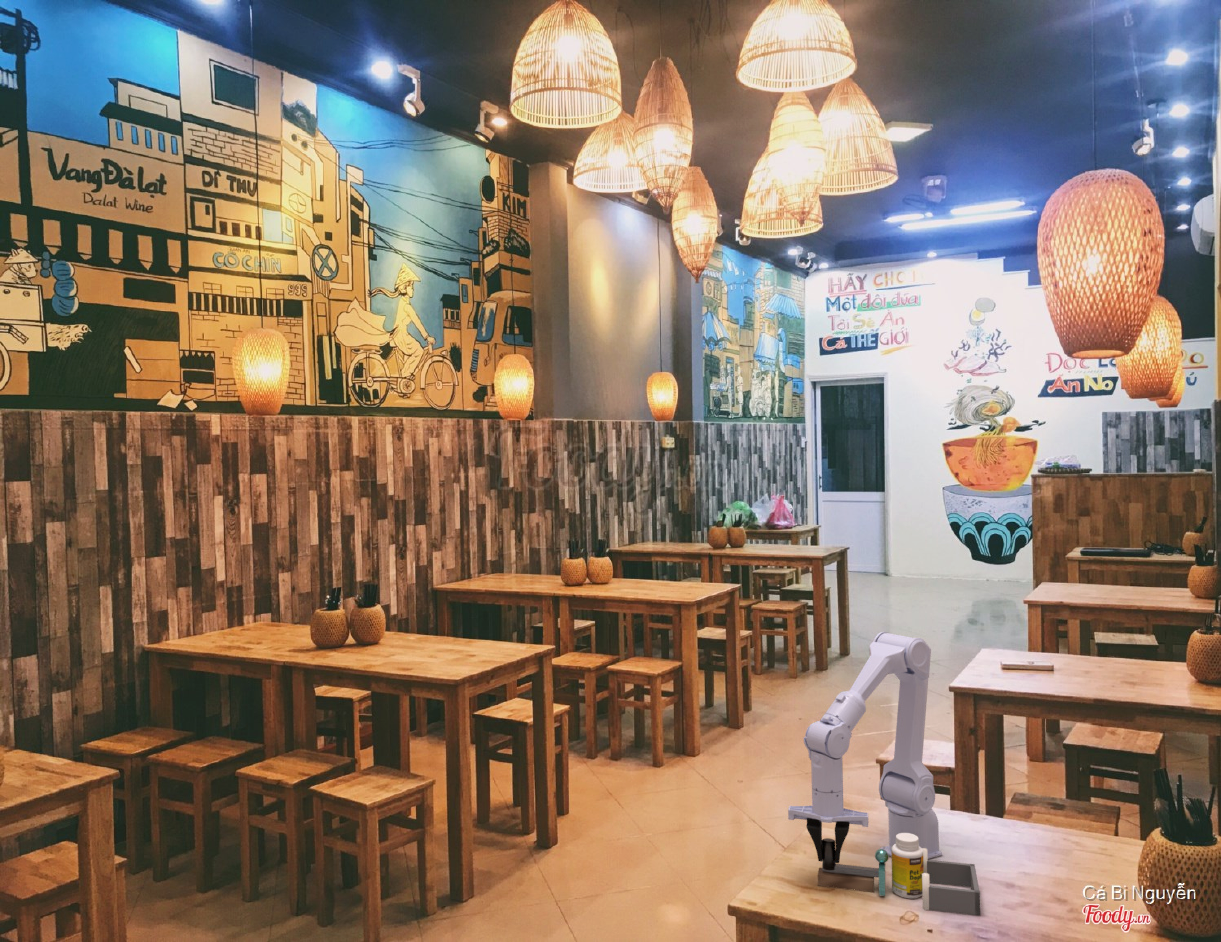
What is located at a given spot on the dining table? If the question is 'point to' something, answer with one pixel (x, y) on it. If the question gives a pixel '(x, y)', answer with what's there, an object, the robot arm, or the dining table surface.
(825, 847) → the slider rail assembly
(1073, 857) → the dining table surface
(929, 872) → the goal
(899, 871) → the supplement bottle
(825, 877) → the guide
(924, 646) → the robot arm
